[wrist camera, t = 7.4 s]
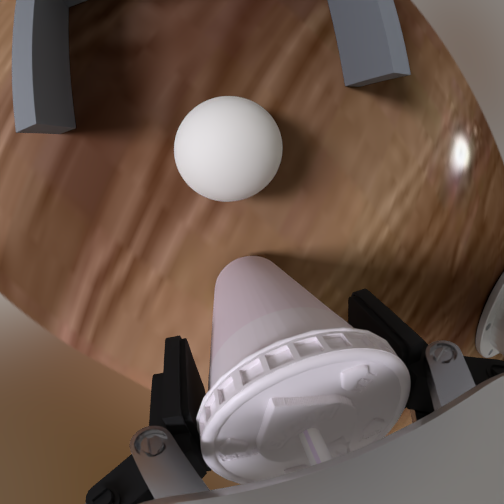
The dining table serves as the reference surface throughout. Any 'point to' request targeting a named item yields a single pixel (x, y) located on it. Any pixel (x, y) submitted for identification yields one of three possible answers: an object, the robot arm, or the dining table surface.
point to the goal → (57, 3)
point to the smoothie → (290, 378)
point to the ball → (228, 148)
